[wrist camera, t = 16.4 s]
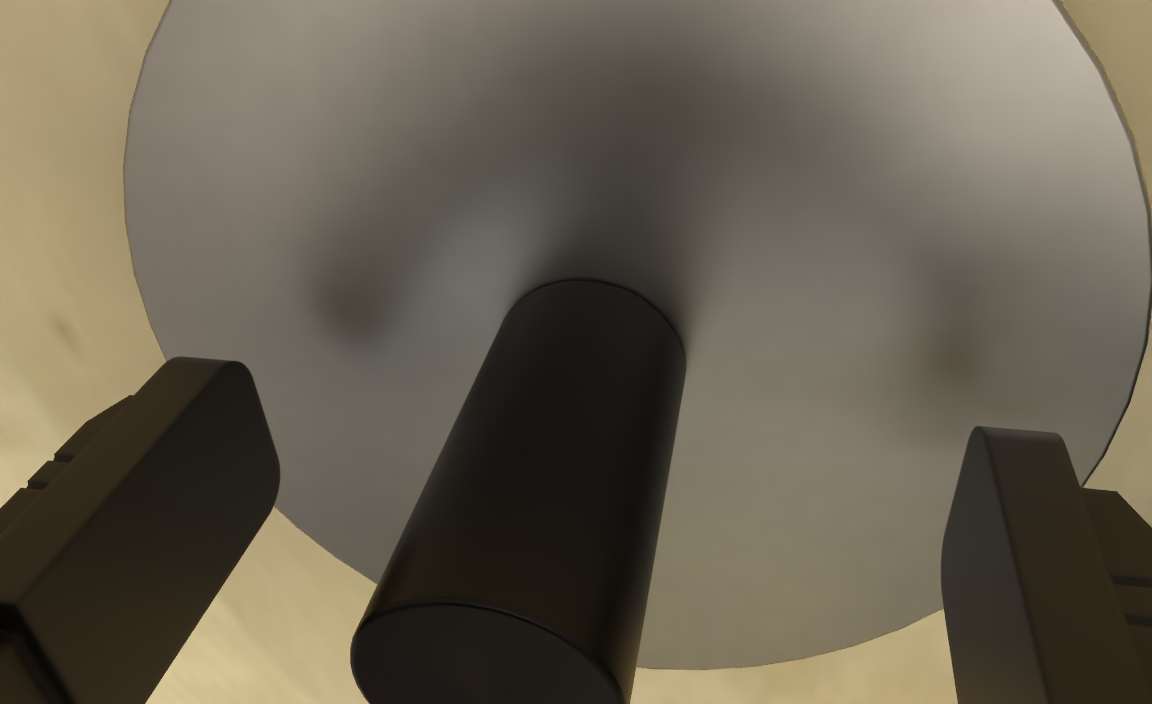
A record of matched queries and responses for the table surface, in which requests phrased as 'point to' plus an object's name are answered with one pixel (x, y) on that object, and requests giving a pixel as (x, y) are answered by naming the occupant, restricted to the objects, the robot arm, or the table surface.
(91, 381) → the table surface
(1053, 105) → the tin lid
